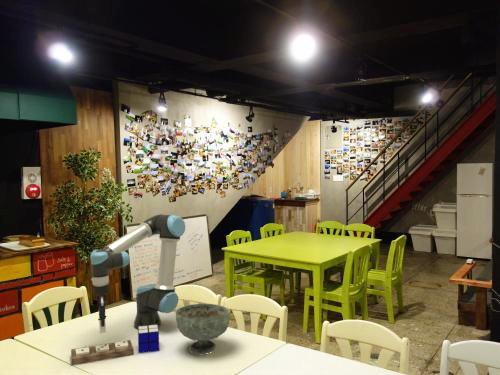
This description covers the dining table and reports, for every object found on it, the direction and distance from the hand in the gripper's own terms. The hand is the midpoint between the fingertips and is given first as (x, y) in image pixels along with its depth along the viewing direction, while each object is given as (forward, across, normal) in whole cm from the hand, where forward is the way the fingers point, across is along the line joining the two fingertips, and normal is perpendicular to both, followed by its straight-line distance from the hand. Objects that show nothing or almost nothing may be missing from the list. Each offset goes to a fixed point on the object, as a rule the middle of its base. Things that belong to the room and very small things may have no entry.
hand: (102, 332), depth 208 cm
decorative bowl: (+12, +13, +46) cm, 50 cm away
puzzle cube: (+12, +1, +21) cm, 24 cm away
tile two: (+10, 0, +8) cm, 13 cm away
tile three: (+10, 0, -1) cm, 10 cm away
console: (+11, 0, -1) cm, 11 cm away
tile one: (+10, 0, -10) cm, 14 cm away
